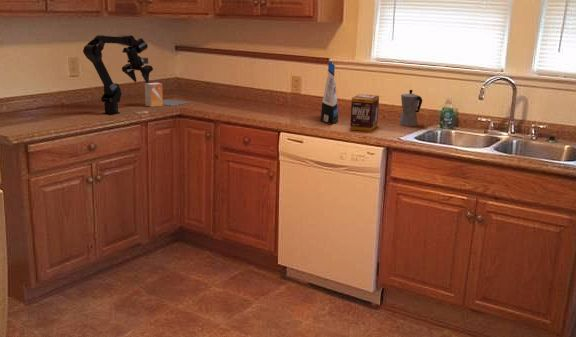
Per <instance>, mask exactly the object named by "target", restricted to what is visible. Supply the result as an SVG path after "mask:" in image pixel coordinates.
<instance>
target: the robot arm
mask: <svg viewBox="0 0 576 337" xmlns="http://www.w3.org/2000/svg"><path fill="white" fill-rule="evenodd" d="M105 44H117V45H119V46H123V47H124V48H123V49H122V53H125V54H126V56H127V63H126V64H124V65H123V66H122V68H121V71H122V72H123V73H124V74H126V75H127V76H128V77H129V78H130V79H131V80H132V81H133V82H134V83H137V77H136V73H135V71H140V74H141V76H142V78H143V80H144V81H145V84H147V83H150V73H152V72H153V70H154V68H153V65H149V58H148V57H141V56H140V55H139V54H141V53H143V52H144V51H146V50H147V49H148V48H149V47H148V43H147V42H146V41H145V40H144V39H143V38H138V39H136V38H135V36H134V35H131V34H129V35H127V34H121V35H117V36H112V35H110V36H109V35H102V34H101V35H100V34H97V35H95V37H94V38H93V39H92V40H90V41H89V42H88V43H86V45H84V46H83V49H82V52H83V54H84V56H85V58H86V59H87V60H88V61H90V62H91V63H92V65H93V67H94V69H95V71H96V73H97V74H98V76H99V79H100V80H101V82H102V84H103V92H104V93H103V94H102V96H101V97H100V100H101V102H102V103H104V111H103V112H102V114H103V115H104V114H105V115H116V114H118V115H119V114H120V113H121V112H120V111H119V105H118V103H120V101H121V98H122V97H121V96H122V89H121V88H120V85H119V83H116V82H115V83H114V82H113V79H112V77H111V75H110V74H109V72H108V70H107V67H106V65H105V64H104V62H103V59H102V58H103V53H102V51H103V50H104V48H105Z"/></svg>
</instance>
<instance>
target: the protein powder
mask: <svg viewBox="0 0 576 337" xmlns="http://www.w3.org/2000/svg"><path fill="white" fill-rule="evenodd" d="M327 63H328V66H327V70H328V71H327V77H326V80H325V81H326V82H325V87H324V94H323V98H322V102H321V108H320V109H321V112H320V121H321V122H322V123H325V124H329V125H335V124H337V123H339V112H338V111H339V110H338V96H337V86H336V85H337V84H336V80H335V71H336V70H335V67H336V64H334V63H332V61H330V60H328V62H327Z"/></svg>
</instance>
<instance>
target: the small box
mask: <svg viewBox="0 0 576 337" xmlns="http://www.w3.org/2000/svg"><path fill="white" fill-rule="evenodd" d="M163 95H164V94H163V83H160V82H149V83H144V99H145V100H144V101H145V106H146V107H150V108H152V107H153V108H154V107H162V106H164V105H163V100H164V99H163Z"/></svg>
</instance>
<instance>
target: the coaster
mask: <svg viewBox="0 0 576 337" xmlns="http://www.w3.org/2000/svg"><path fill="white" fill-rule="evenodd" d="M134 114H136V115H145V114H148V111H147V110H136V111H134Z"/></svg>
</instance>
